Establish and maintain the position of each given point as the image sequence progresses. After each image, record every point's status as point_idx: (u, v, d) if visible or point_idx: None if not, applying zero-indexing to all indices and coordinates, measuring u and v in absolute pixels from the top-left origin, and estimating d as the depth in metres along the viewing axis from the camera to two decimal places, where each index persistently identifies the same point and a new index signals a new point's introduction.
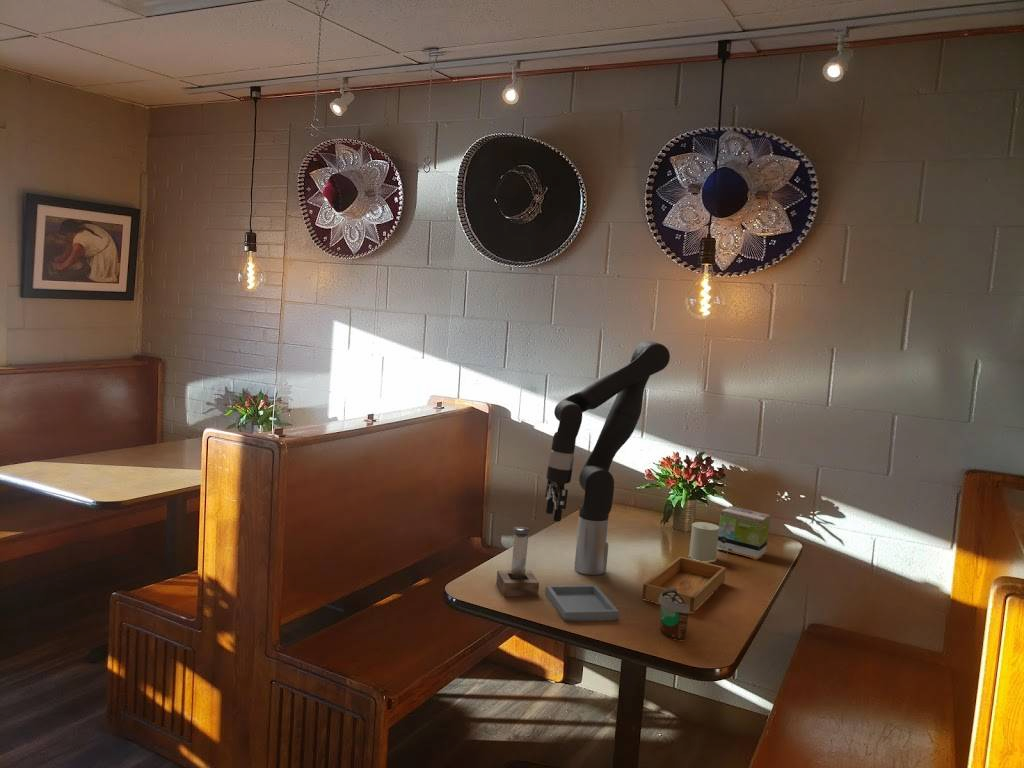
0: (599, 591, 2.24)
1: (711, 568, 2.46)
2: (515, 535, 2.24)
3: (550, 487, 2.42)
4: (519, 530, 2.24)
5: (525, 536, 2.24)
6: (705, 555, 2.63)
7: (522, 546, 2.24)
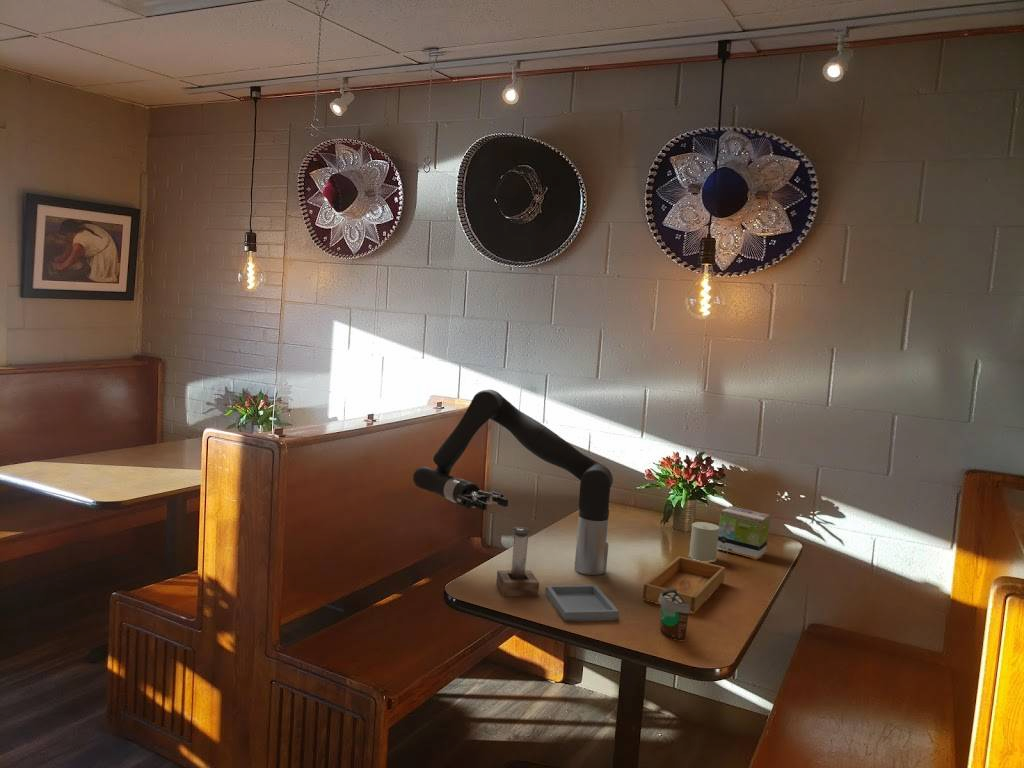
0: (599, 591, 2.24)
1: (710, 568, 2.46)
2: (515, 535, 2.24)
3: None
4: (519, 530, 2.24)
5: (525, 536, 2.24)
6: (705, 555, 2.63)
7: (522, 546, 2.24)
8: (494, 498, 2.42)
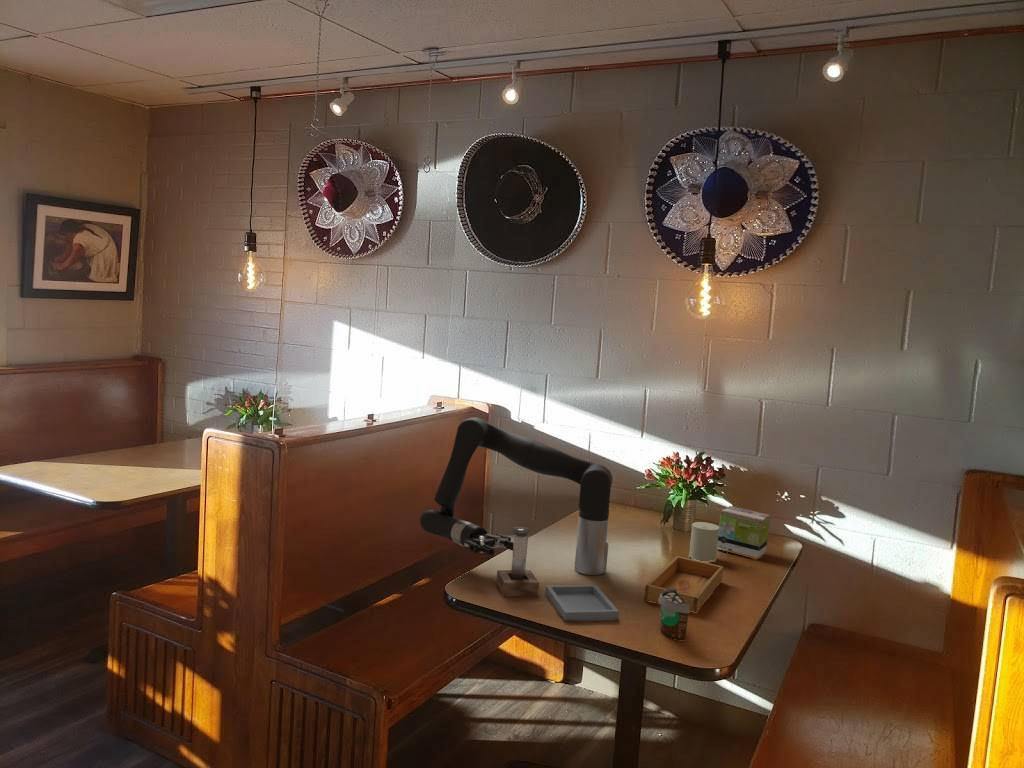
0: (599, 591, 2.24)
1: (709, 567, 2.47)
2: (515, 535, 2.24)
3: None
4: (519, 530, 2.24)
5: (525, 536, 2.24)
6: (705, 555, 2.63)
7: (522, 546, 2.24)
8: (502, 541, 2.40)
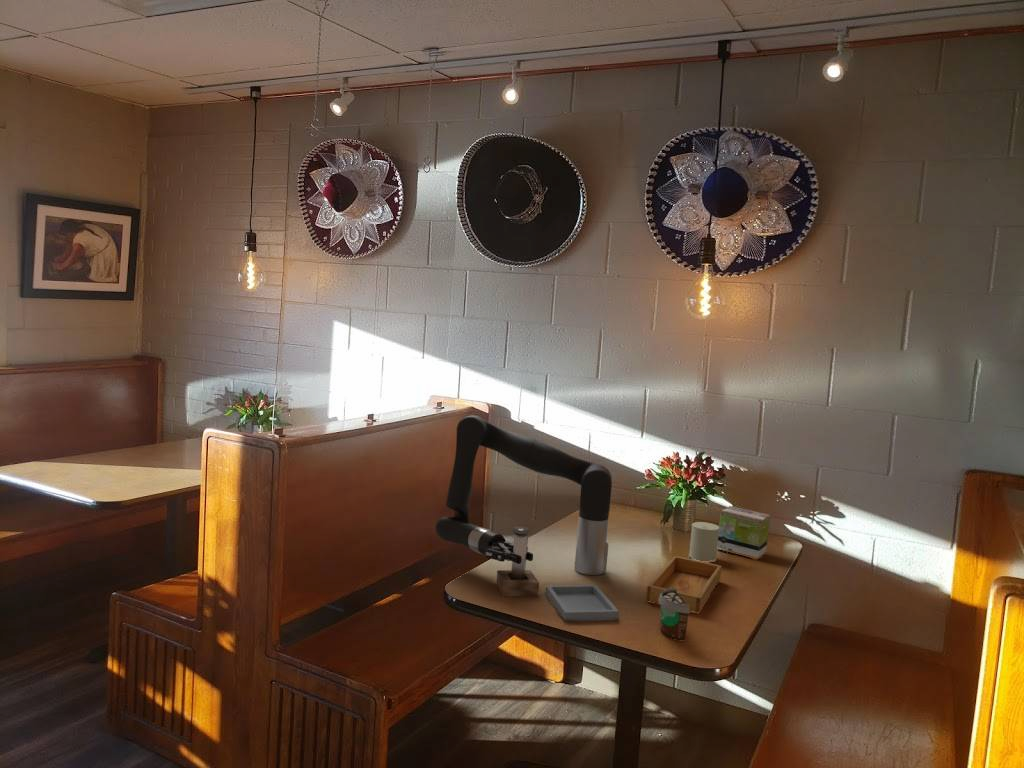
0: (599, 591, 2.24)
1: (707, 567, 2.47)
2: (515, 535, 2.24)
3: None
4: (519, 530, 2.24)
5: (525, 536, 2.24)
6: (705, 555, 2.63)
7: (522, 546, 2.24)
8: None
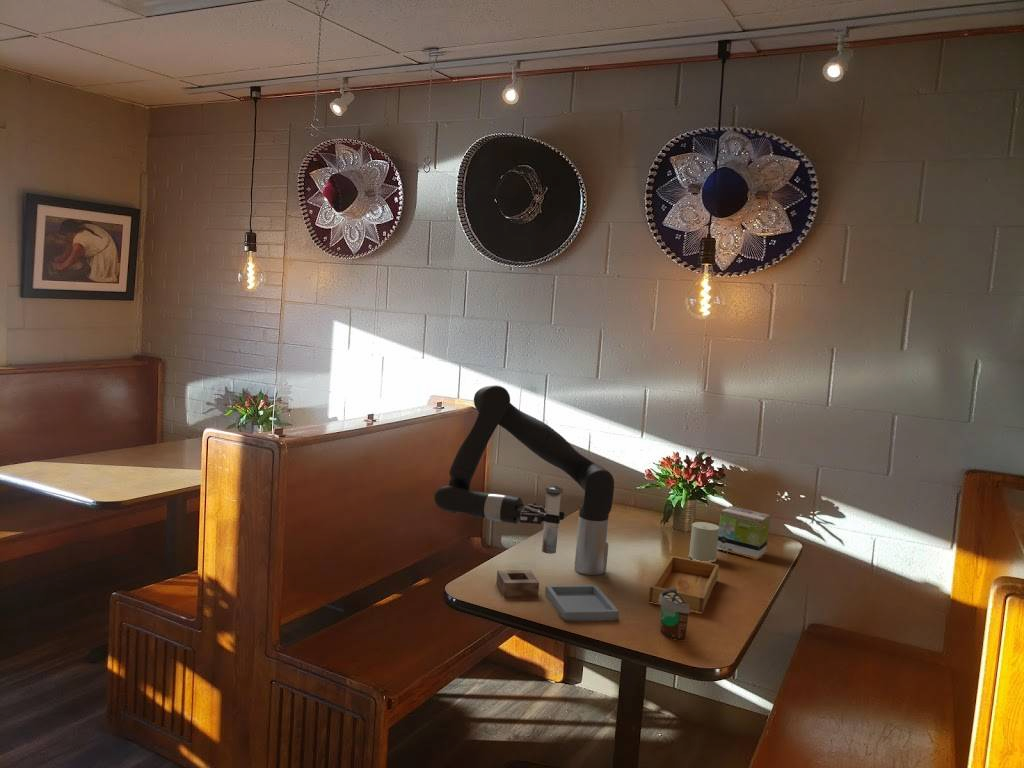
0: (599, 591, 2.24)
1: (704, 566, 2.47)
2: (550, 495, 2.16)
3: None
4: (554, 489, 2.16)
5: (560, 494, 2.17)
6: (705, 555, 2.63)
7: (558, 505, 2.17)
8: (541, 511, 2.25)
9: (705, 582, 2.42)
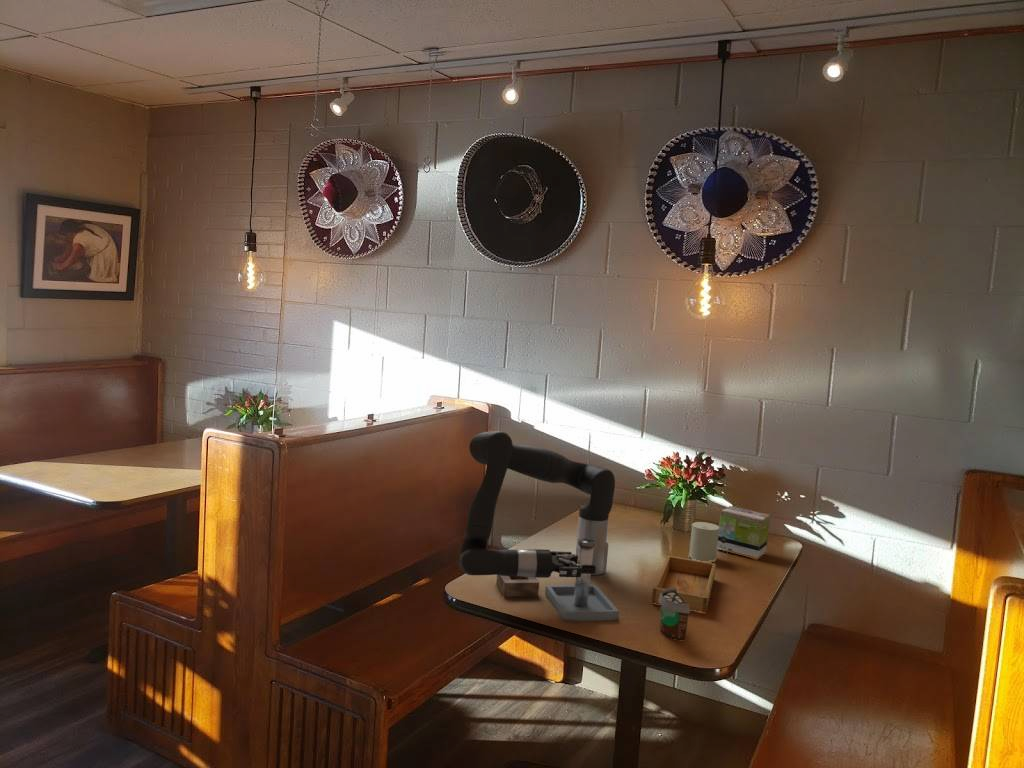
0: (599, 591, 2.24)
1: (701, 565, 2.48)
2: (586, 549, 2.14)
3: None
4: (590, 543, 2.15)
5: (593, 547, 2.16)
6: (705, 555, 2.63)
7: (592, 557, 2.16)
8: None
9: (703, 581, 2.43)
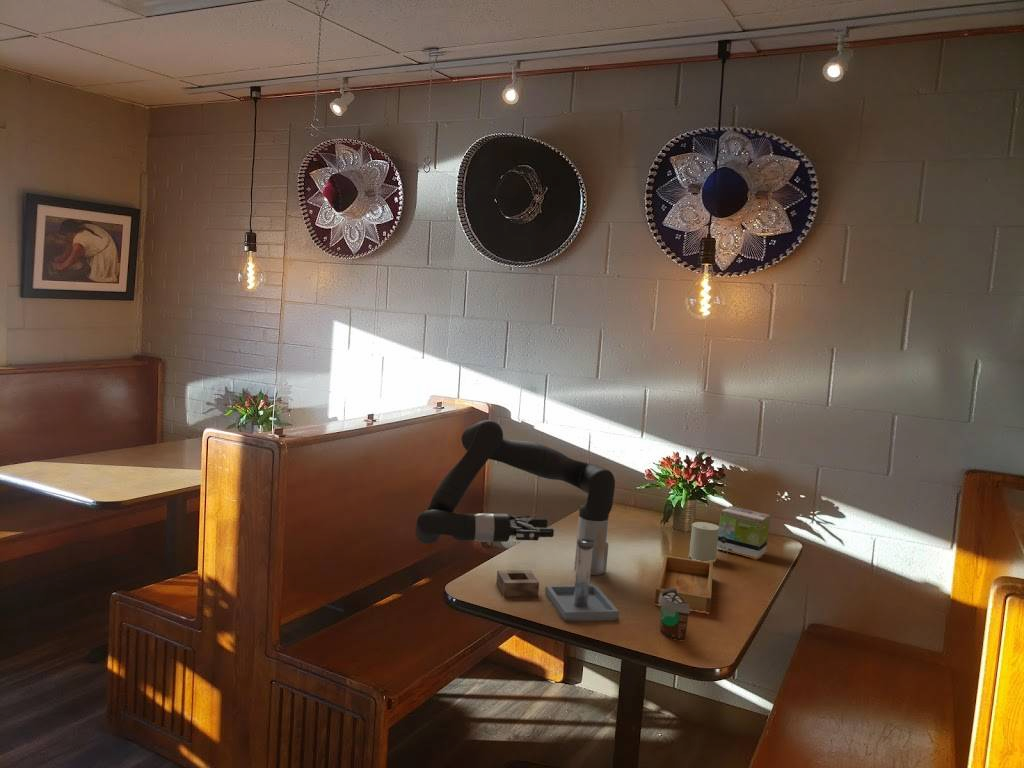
0: (599, 591, 2.24)
1: (699, 564, 2.48)
2: (585, 549, 2.14)
3: None
4: (589, 543, 2.15)
5: (592, 547, 2.16)
6: (705, 555, 2.63)
7: (591, 557, 2.16)
8: None
9: (702, 581, 2.43)
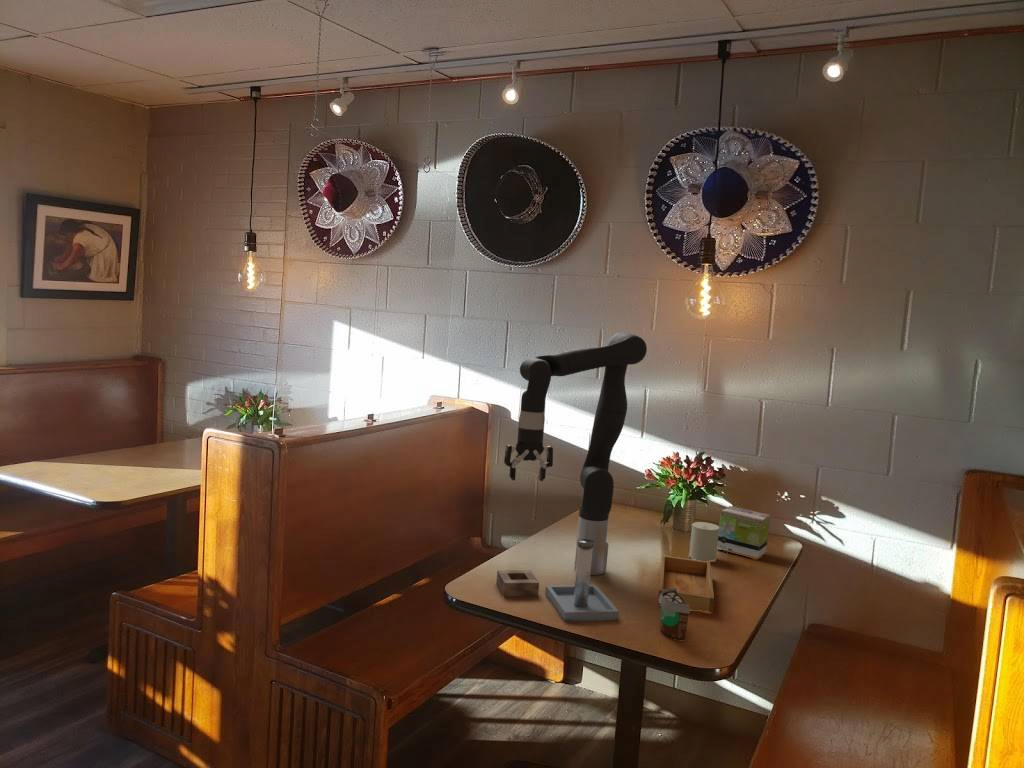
0: (599, 591, 2.24)
1: (696, 564, 2.49)
2: (585, 549, 2.14)
3: None
4: (589, 543, 2.15)
5: (592, 547, 2.16)
6: (705, 555, 2.63)
7: (591, 557, 2.16)
8: (547, 456, 2.34)
9: (700, 580, 2.44)
